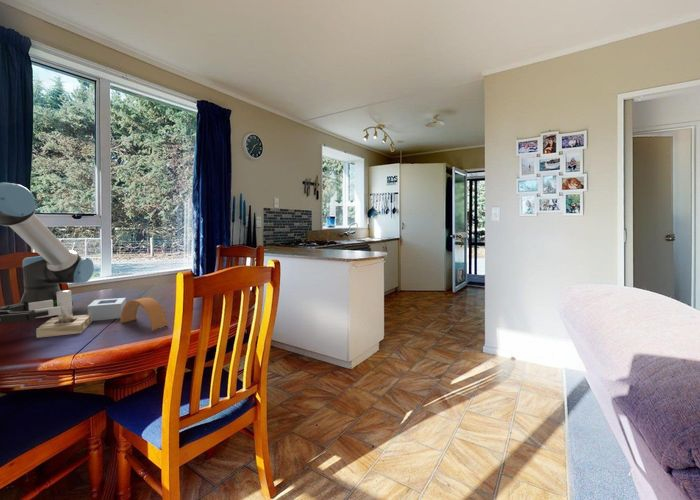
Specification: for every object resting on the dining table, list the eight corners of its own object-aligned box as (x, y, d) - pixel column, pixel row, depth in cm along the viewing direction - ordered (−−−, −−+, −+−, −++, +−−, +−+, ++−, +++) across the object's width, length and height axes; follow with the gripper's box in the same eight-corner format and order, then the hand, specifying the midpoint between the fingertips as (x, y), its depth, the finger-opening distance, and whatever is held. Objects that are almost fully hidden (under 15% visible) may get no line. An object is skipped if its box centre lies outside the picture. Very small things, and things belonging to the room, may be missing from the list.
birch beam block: (52, 325, 125) (51, 317, 124) (91, 321, 130) (91, 314, 130) (36, 337, 112) (36, 329, 112) (81, 333, 117) (80, 324, 117)
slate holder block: (95, 314, 140) (94, 300, 140) (126, 311, 145) (125, 297, 145) (88, 321, 130) (87, 306, 130) (121, 318, 135) (121, 303, 135)
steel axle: (61, 328, 122) (58, 290, 121) (75, 326, 124) (72, 289, 122) (57, 331, 118) (54, 292, 117) (71, 330, 120) (69, 292, 119)
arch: (152, 331, 121) (151, 304, 120) (120, 322, 130) (119, 297, 129) (167, 326, 126) (166, 300, 125) (135, 318, 135) (134, 294, 134)
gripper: (-35, 323, 110) (50, 310, 126) (-32, 341, 94) (65, 324, 110) (-37, 301, 109) (49, 291, 126) (-35, 316, 94) (63, 302, 110)
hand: (57, 306), depth 118 cm, fingers open, 13 cm apart
